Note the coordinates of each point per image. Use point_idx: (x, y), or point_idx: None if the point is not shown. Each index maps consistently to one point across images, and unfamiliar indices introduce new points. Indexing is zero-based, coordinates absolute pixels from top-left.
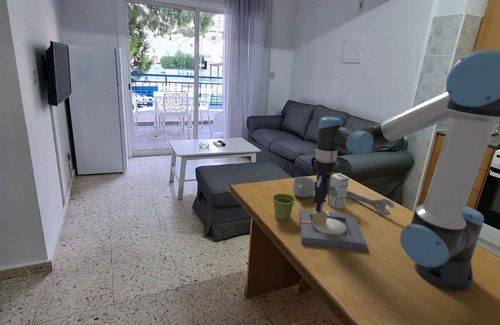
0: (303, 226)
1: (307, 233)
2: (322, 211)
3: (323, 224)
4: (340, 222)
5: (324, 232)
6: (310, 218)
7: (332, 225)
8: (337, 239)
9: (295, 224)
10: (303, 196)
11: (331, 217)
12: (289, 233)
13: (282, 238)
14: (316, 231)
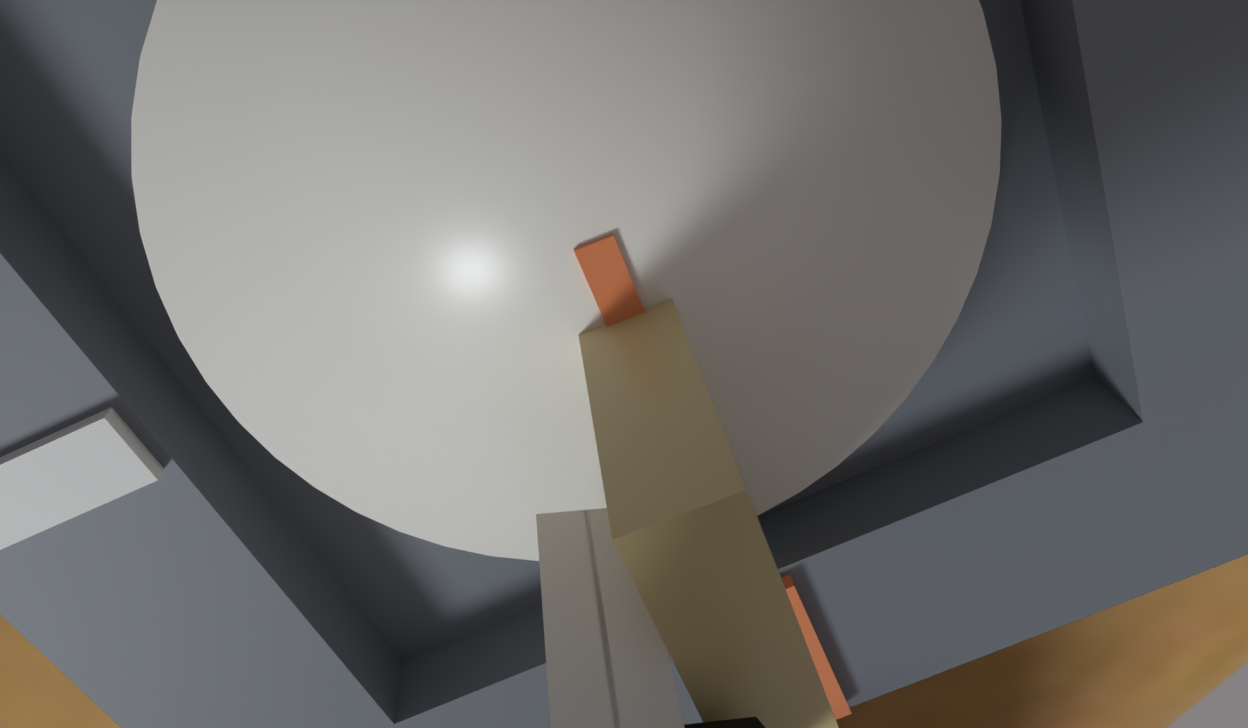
0: (980, 623)
1: (1222, 478)
2: (581, 660)
3: (700, 363)
4: (195, 14)
5: (987, 221)
6: None
7: (544, 165)
8: None
9: None
10: None
11: (85, 328)
12: (1047, 658)
13: (1223, 666)
14: None
